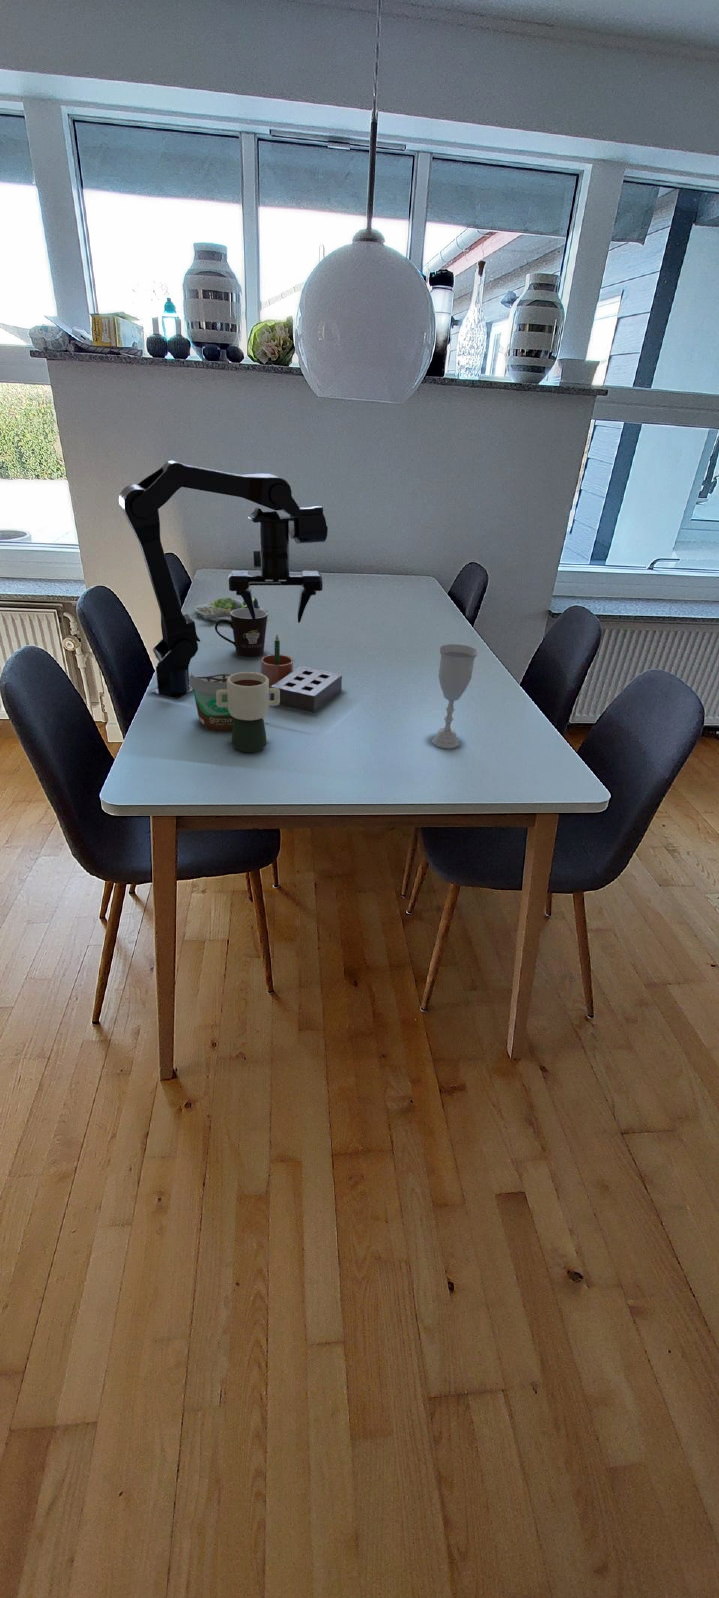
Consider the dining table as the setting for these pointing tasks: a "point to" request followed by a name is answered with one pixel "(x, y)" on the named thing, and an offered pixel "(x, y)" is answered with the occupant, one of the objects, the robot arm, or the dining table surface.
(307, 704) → the pen block
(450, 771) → the dining table surface
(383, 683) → the dining table surface
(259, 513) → the robot arm
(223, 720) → the food container
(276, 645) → the pencil
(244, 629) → the coffee mug
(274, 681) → the cup
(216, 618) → the salad plate
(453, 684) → the chalice
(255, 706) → the character mug
